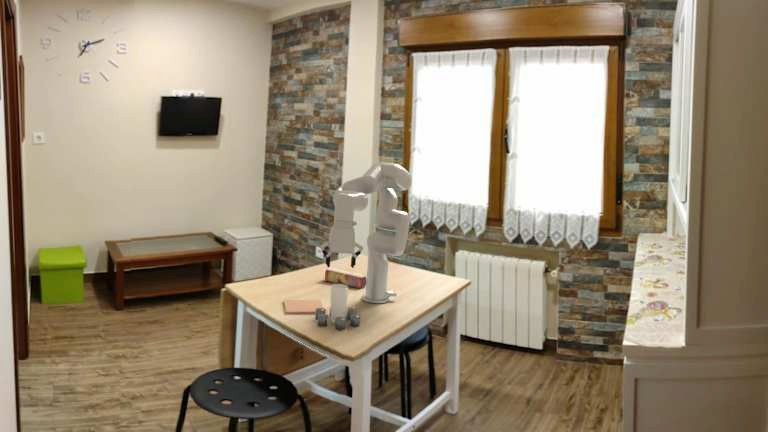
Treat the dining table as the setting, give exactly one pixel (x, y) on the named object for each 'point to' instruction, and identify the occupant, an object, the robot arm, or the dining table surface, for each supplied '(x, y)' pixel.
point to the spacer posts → (338, 318)
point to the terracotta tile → (302, 306)
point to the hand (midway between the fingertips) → (340, 266)
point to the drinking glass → (338, 301)
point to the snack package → (345, 278)
